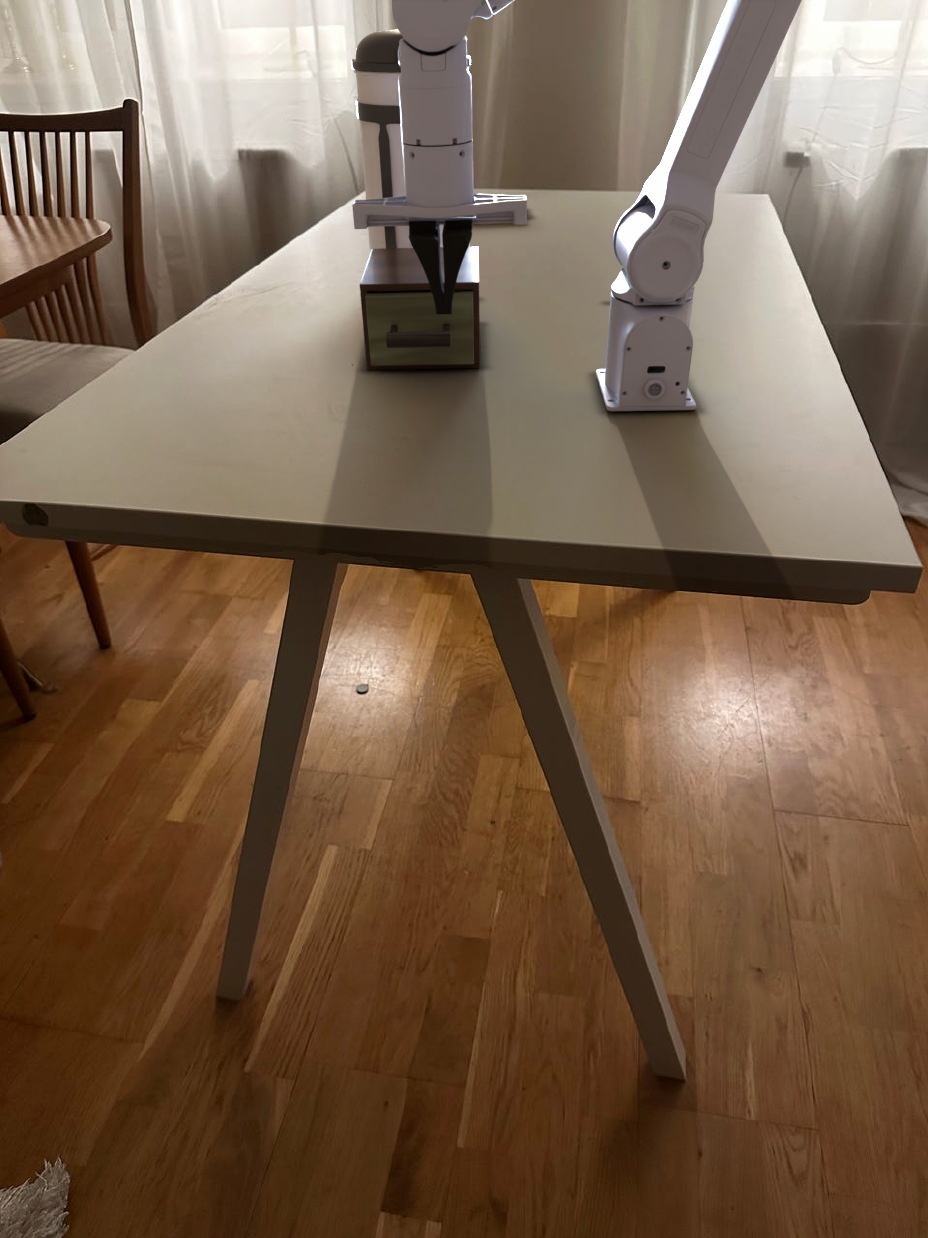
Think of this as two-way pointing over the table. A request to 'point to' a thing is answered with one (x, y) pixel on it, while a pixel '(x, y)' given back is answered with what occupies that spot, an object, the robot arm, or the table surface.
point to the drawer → (419, 329)
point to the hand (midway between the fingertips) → (444, 310)
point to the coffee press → (382, 128)
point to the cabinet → (407, 274)
